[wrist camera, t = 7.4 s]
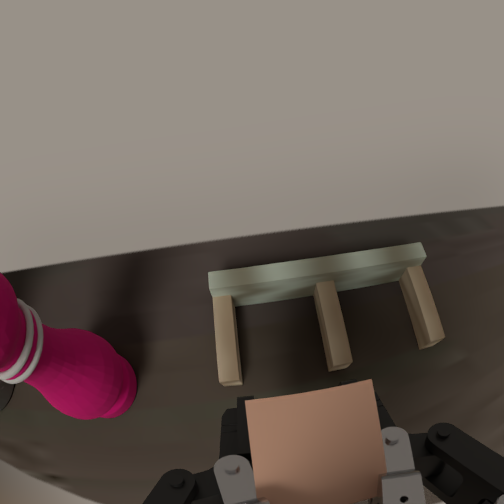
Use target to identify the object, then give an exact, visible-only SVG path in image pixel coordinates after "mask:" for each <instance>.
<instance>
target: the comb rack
mask: <svg viewBox="0 0 504 504" xmlns="http://www.w3.org/2000/svg"><path fill="white" fill-rule="evenodd" d="M426 257H427V256H426V254H425V251H424V249H423V246H422V244H421V242H418V243H412V244H405V245H399V246H392V247H385V248H379V249H372V250H365V251H359V252H352V253H345V254H338V255H331V256H324V257H317V258H310V259H303V260H296V261H289V262H281V263H274V264H267V265H260V266H252V267H245V268H237V269H230V270H222V271H215V272H208V276H209V290H210V292H211V294H212V297H213V309H214V324H215V337H216V351H217V363H218V375H219V382H220V383H221V384H222V385H223V386H235V385H243V381H242V372H241V363H240V354H239V344H238V334H237V324H236V314H235V307H236V306H244V305H251V304H259V303H266V302H273V301H280V300H287V299H294V298H301V297H307V296H313V297H314V301H315V306H316V311H317V316H318V320H319V325H320V330H321V335H322V340H323V345H324V350H325V356H326V361H327V366H328V371H329V372H330V371H335V370H340V369H345V368H347V367H348V366H349V365H350V364H351V363H352V362H353V360H352V356H351V351H350V346H349V342H348V337H347V333H346V329H345V324H344V320H343V316H342V312H341V307H340V303H339V299H338V295H337V292H338V291H344V290H350V289H356V288H362V287H367V286H373V285H378V284H384V283H389V282H394V281H399V284H400V287H401V290H402V293H403V296H404V299H405V302H406V306H407V309H408V312H409V315H410V319H411V322H412V325H413V329H414V332H415V336H416V340H417V343H418V347H419V350H421V349H424V348H428V347H431V346H433V345H435V344H436V343H438V342H439V341H441V340H442V339H444V338H445V335H444V331H443V328H442V325H441V322H440V318H439V315H438V312H437V309H436V306H435V303H434V300H433V297H432V294H431V292H430V289H429V286H428V283H427V281H426V278H425V275H424V273H423V270H422V267H421V264H422V263H423V261H424V260H425V258H426Z"/></svg>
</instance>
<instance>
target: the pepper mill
mask: <svg viewBox="0 0 504 504" xmlns="http://www.w3.org/2000/svg"><path fill="white" fill-rule="evenodd" d="M0 380H2V381H4V382H6V383H10V384H16V383H19V382H22V381H24V382H26V383H28V384H30V385H32V386H34V387H35V388H36V389H38V390H39V391H40V392H41V393H42V395H43V396H44V397H45V398H46V399H47V401H48V402H49V403H50V404H51V405H52V406H54V407H55V408H56V409H58V410H59V411H61V412H62V413H64V414H66V415H69V416H72V417H74V418H78V419H94V418H98V417H102V418H114V417H117V416H119V415H121V414H123V413H124V412H125V411H127V410H128V409H129V407H130V406H131V405H132V403H133V401H134V399H135V396H136V391H137V381H136V376H135V373H134V370H133V368H132V367H131V365H130V364H129V362H128V361H127V360H126V359H125V358H123V357H122V356H120V355H119V354H117V353H116V351H115V349H114V348H113V347H112V346H111V345H110V344H109V343H108V342H107V341H106V340H105V339H103V338H102V337H100V336H98V335H96V334H94V333H92V332H90V331H86V330H81V329H76V328H70V329H54V328H50V327H48V326H46V325H44V324H42V323H41V320H40V318H39V316H38V314H37V313H36V311H35V310H34V309H33V308H31V307H30V306H28V305H26V304H25V303H24V302H23V301H22V300H20V299H18V298H17V297H16V295H15V292H14V290H13V287H12V286H11V284H10V282H9V281H8V280H7V279H6V278H5V277H4V276H3V275H2V274H1V273H0Z"/></svg>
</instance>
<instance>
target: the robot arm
mask: <svg viewBox="0 0 504 504" xmlns="http://www.w3.org/2000/svg"><path fill="white" fill-rule="evenodd" d="M356 382H357V380H356V379H353V380H348V381H343V382H340V383H339V386H342V385H347V384H352V383H356ZM13 387H14V384H10V383H6V382H4V381H2V380H0V410H2V409H3V408H4V407H5V406H6V404H7V403H8V401H9V399H10V397H11V395H12V391H13ZM374 394H375V399H376V405H377V410H378V416H379V422H380V428H381V434H382V440H383V447H384V454H385V461H386V468H387V473H383V474H379V475H378V487H377V497H373V498H370V499H368V504H426V502H425V495H424V489H423V485H424V486H425V487H426V488H427V489H429V490H430V491H431V492H432V493H434V494H435V495H436V496H437V497H438V498H440V499H441V500H442V501H443V502H445V503H446V504H504V457H502V456H501V455H499V454H497V453H496V452H494V451H493V450H491V449H489V448H488V447H486V446H485V445H483V444H482V443H480V442H478V441H477V440H475V439H474V438H472V437H471V436H469V435H467V434H466V433H464V432H463V431H461V430H460V429H458V428H457V427H455V426H454V425H452V424H449V423H438V424H435V425H433V426H432V427H431V428H430V429H429V431H428V433H421V434H408V433H407V432H406V431H405V430H404V429H402V428H399V427H396V426H395V424H394V422H393V420H392V419H391V417H390V415H389V414H388V412H387V410H386V409H385V407H384V406H383V403H382V402H381V401H380V398H379V397H378V395H377V393H376V392H375V391H374ZM245 400H254V396H245V397H237V408H231V409H227V410H226V411H225V413H224V414H223V416H222V423H221V425H222V427H221V439H220V456H219V460H218V461H217V462H216V463H215V465H214V467H212V468H211V469H209V470H207V471H204V472H200V473H197V474H192V473H190V472H189V471H187V470H184V469H174V470H170V471H168V472H166V473H165V474H164V475H163V476H162V477H161V479H160V480H159V481H158V483H157V484H156V486H155V487H154V488H153V490H152V491H151V493H150V494H149V495H148V497H147V498H146V500H145V501H144V502H143V504H270V503H269V501H268V499H267V498H265V497H261V498H257V496H256V489H255V481H254V473H253V465H252V457H251V449H250V440H249V432H248V423H247V415H246V406H245Z"/></svg>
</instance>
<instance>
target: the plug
mask: <svg viewBox="0 0 504 504" xmlns="http://www.w3.org/2000/svg"><path fill="white" fill-rule="evenodd" d="M245 406H246V415H247V423H248V432H249V440H250V449H251V457H252V465H253V473H254V481H255V489H256V496H257V498H261V497H265V498H267V499H268V501H269V503H270V504H352V503H355V502H359V501H363V500H367V499H370V498H373V497H377V487H378V475H379V474H383V473H387V468H386V461H385V454H384V447H383V440H382V434H381V428H380V422H379V416H378V410H377V405H376V399H375V394H374V389H373V384H372V379H369V380H365V381H360V382H356V383H352V384H347V385H342V386H337V387H332V388H327V389H322V390H316V391H311V392H305V393H299V394H292V395H286V396H278V397H271V398H263V399H254V400H245Z"/></svg>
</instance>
